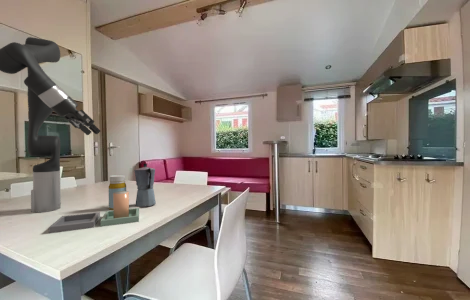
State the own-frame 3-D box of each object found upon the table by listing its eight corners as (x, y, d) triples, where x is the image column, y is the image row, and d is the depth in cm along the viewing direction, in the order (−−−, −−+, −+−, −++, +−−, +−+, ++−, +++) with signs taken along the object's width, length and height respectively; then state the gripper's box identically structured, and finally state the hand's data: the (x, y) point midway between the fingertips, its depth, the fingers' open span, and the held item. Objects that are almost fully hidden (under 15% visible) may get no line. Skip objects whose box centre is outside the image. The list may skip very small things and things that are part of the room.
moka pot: (150, 200, 111) (149, 162, 111) (162, 206, 100) (162, 164, 100) (130, 204, 105) (130, 163, 105) (141, 210, 93) (141, 165, 93)
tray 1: (49, 235, 68) (49, 227, 68) (62, 222, 79) (62, 216, 79) (93, 229, 73) (93, 221, 73) (100, 218, 84) (100, 212, 84)
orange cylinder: (112, 221, 78) (112, 194, 78) (114, 217, 83) (114, 191, 82) (128, 220, 80) (128, 193, 80) (129, 215, 85) (129, 190, 84)
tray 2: (100, 228, 73) (100, 220, 73) (105, 217, 84) (105, 211, 84) (138, 223, 78) (138, 216, 78) (139, 213, 89) (139, 207, 89)
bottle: (118, 211, 92) (118, 177, 92) (105, 210, 94) (104, 176, 94) (129, 207, 99) (129, 175, 99) (116, 206, 101) (116, 174, 101)
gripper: (74, 92, 77) (108, 126, 86) (61, 97, 85) (93, 128, 94) (56, 104, 72) (94, 139, 82) (43, 109, 81) (79, 140, 90)
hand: (93, 133), depth 88 cm, fingers open, 8 cm apart
